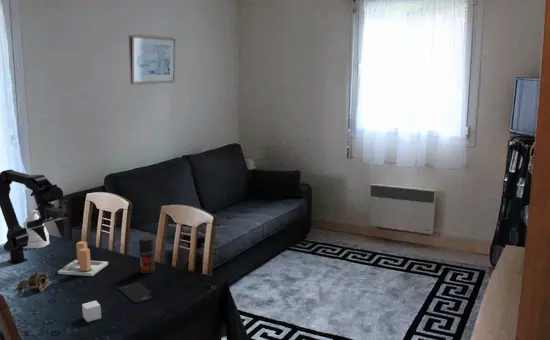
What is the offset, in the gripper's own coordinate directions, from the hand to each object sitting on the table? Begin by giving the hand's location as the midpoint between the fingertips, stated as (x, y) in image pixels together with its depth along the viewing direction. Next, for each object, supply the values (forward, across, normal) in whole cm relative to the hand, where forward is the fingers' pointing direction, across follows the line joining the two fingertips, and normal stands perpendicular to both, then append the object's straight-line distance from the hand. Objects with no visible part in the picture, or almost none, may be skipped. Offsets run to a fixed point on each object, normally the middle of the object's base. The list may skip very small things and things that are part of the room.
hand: (54, 238), depth 236 cm
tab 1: (+14, +9, -3) cm, 17 cm away
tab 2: (+16, +2, -11) cm, 20 cm away
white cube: (+28, -29, -42) cm, 58 cm away
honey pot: (+4, +20, +40) cm, 45 cm away
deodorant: (+25, +15, -33) cm, 43 cm away
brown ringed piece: (+16, -19, -3) cm, 25 cm away
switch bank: (+17, +5, -6) cm, 18 cm away
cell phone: (+28, -5, -43) cm, 52 cm away
